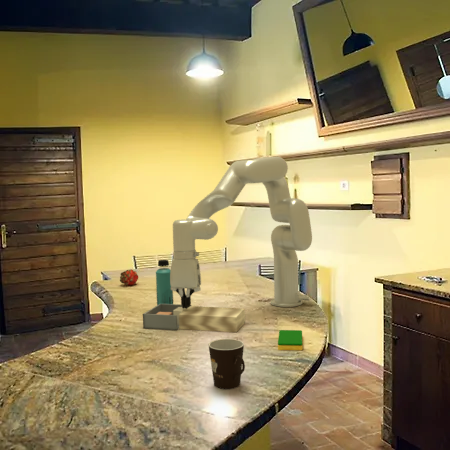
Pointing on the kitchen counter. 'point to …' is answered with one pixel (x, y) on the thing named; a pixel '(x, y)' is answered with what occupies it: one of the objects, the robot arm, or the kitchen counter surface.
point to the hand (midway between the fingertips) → (186, 307)
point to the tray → (161, 317)
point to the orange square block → (165, 313)
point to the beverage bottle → (163, 284)
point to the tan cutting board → (212, 319)
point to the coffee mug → (227, 362)
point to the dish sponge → (290, 340)
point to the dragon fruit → (129, 277)
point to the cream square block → (178, 312)
